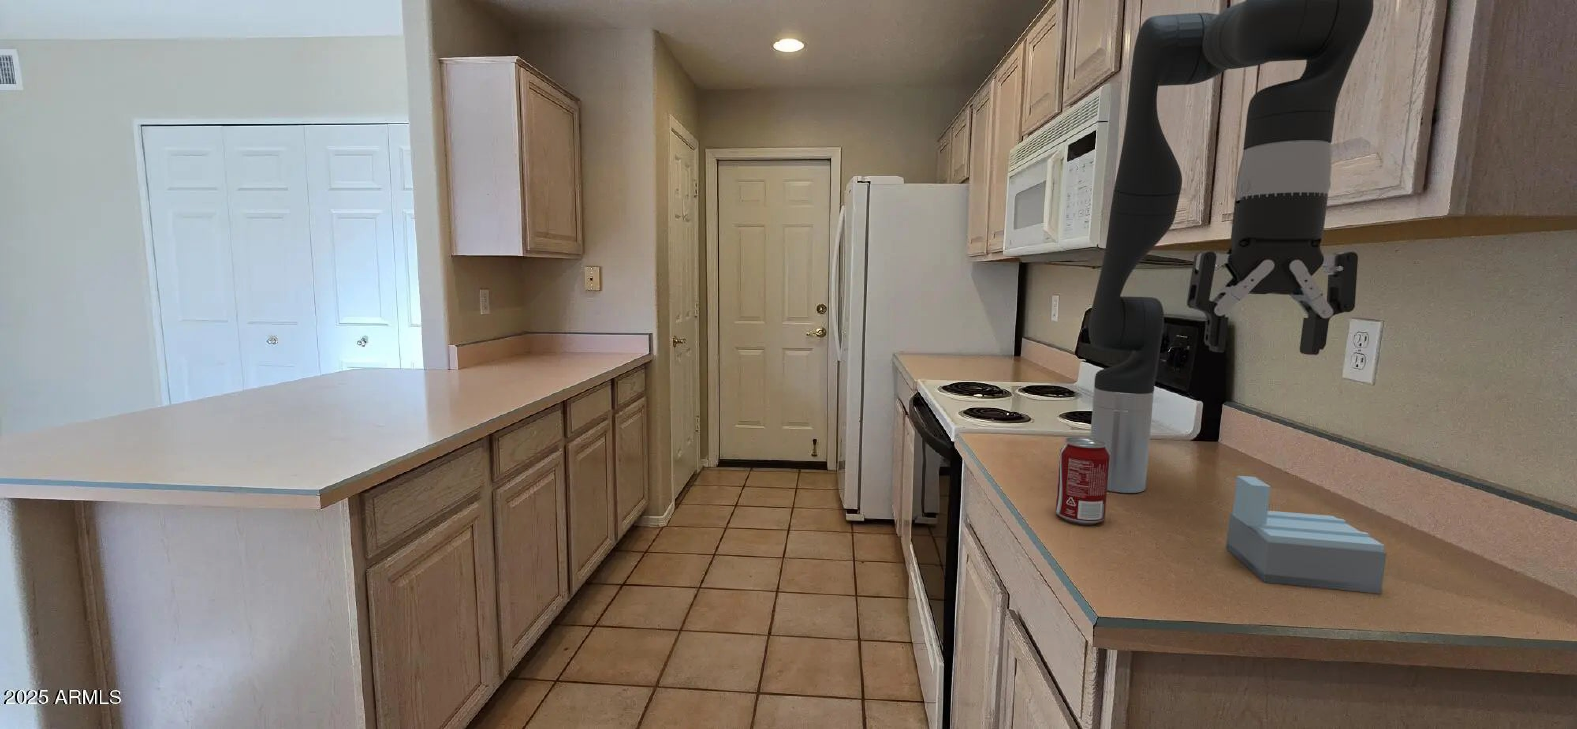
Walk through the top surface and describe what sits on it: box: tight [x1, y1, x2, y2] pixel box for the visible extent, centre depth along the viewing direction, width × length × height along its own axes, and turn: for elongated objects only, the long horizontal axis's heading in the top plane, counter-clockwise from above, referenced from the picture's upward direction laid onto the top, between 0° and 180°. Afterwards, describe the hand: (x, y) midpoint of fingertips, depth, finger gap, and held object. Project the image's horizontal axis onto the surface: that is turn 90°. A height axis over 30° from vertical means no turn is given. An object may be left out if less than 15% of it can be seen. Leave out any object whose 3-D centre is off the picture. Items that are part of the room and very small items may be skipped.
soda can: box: [1055, 436, 1110, 526], centre depth 96 cm, size 7×7×12 cm
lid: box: [1231, 475, 1385, 552], centre depth 79 cm, size 10×13×6 cm
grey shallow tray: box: [1225, 512, 1387, 595], centre depth 80 cm, size 10×12×5 cm
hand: (1261, 352), depth 67 cm, fingers open, 8 cm apart
